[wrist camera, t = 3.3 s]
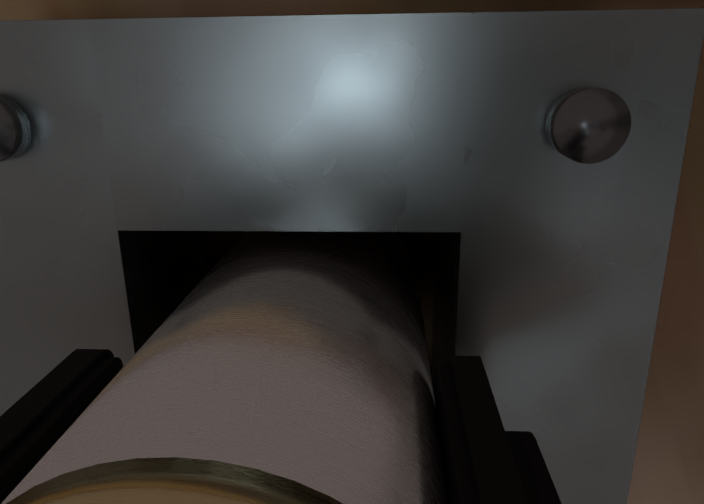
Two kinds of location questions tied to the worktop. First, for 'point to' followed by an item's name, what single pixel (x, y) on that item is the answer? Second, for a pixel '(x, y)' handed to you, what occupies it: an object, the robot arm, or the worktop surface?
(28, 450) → the robot arm
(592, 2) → the worktop surface
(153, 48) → the housing
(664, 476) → the worktop surface
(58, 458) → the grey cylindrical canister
